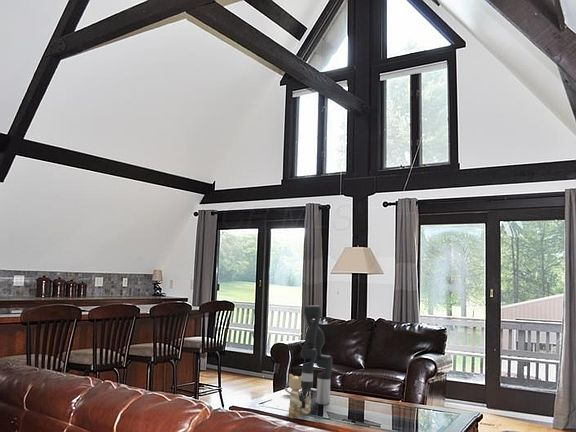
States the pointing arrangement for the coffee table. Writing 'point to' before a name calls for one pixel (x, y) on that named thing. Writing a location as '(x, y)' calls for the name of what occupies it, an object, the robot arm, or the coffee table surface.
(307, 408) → the birch slotted plate
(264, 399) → the coffee table surface
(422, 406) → the coffee table surface
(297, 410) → the oak slotted rail
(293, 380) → the kitten
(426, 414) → the coffee table surface
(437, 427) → the coffee table surface
